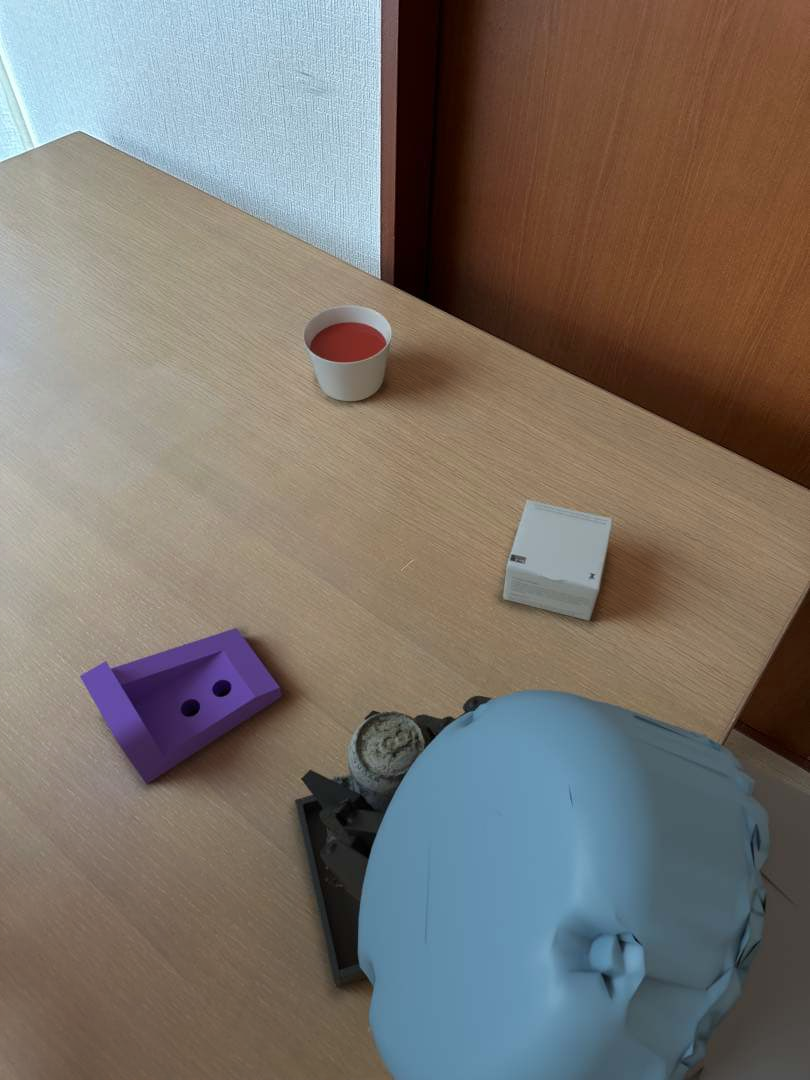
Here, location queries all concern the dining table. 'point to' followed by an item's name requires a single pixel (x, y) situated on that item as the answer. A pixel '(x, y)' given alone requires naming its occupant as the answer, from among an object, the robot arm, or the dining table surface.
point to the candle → (348, 350)
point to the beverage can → (381, 759)
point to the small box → (557, 559)
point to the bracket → (180, 699)
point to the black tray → (331, 898)
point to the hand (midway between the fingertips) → (350, 760)
